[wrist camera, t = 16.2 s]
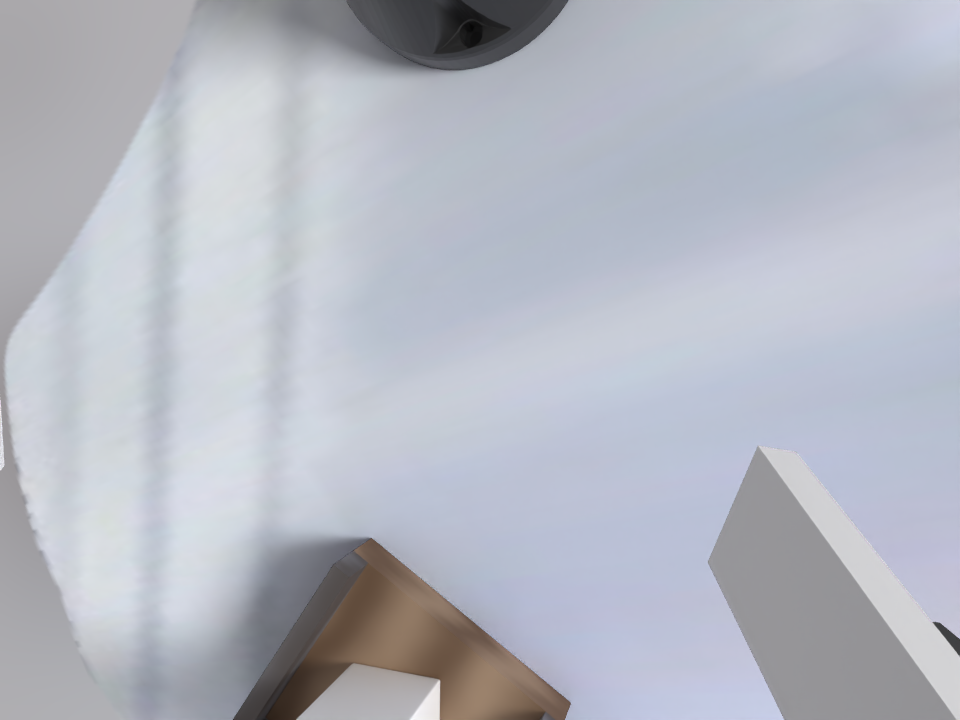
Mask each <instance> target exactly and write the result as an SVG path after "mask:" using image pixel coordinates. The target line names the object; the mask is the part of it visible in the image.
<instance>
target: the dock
mask: <svg viewBox="0 0 960 720" xmlns="http://www.w3.org/2000/svg"><path fill="white" fill-rule="evenodd" d="M353 663H356V664H362V665H367V666H372V667H377V668H383V669H388V670H393V671H398V672H404V673H409V674H414V675H419V676H425V677H430V678H435V679H439V680H440V720H565V718H566V715H567V712H568V710H569V707H570V704H571V703H570V702H569V701H568V700H567V699H566V698H564V697H563V696H562V695H561V694H559V693H558V692H557V691H556V690H555V689H553V688H552V687H551V686H550V685H549V684H547V683H546V682H545V681H544V680H543V679H541V678H540V677H539V676H538V675H537V674H535V673H534V672H533V671H532V670H530V669H529V668H528V667H527V666H526V665H524V664H523V663H522V662H521V661H520V660H518V659H517V658H516V657H515V656H514V655H512V654H511V653H510V652H509V651H507V650H506V649H505V648H504V647H503V646H501V645H500V644H499V643H498V642H497V641H495V640H494V639H493V638H492V637H491V636H489V635H488V634H487V633H486V632H485V631H483V630H482V629H481V628H480V627H478V626H477V625H476V624H475V623H474V622H472V621H471V620H470V619H469V618H468V617H466V616H465V615H464V614H463V613H462V612H460V611H459V610H458V609H457V608H456V607H454V606H453V605H452V604H451V603H449V602H448V601H447V600H446V599H445V598H443V597H442V596H441V595H440V594H439V593H437V592H436V591H435V590H434V589H433V588H431V587H430V586H429V585H428V584H426V583H425V582H424V581H423V580H422V579H420V578H419V577H418V576H417V575H416V574H414V573H413V572H412V571H411V570H410V569H408V568H407V567H406V566H405V565H404V564H402V563H401V562H400V561H399V560H397V559H396V558H395V557H394V556H393V555H391V554H390V553H389V552H388V551H387V550H385V549H384V548H383V547H382V546H381V545H379V544H378V543H377V542H376V541H375V540H373V539H372V538H371V539H369V540H368V541H367V542H365V543H364V544H362V545H361V546H359V547H358V548H357V549H355V550H354V551H352V552H351V553H349V554H348V555H347V556H345V557H344V558H342V559H341V560H339V561H338V562H337V563H335V564H334V565H333V566H332V568H331V569H330V571H329V573H328V574H327V576H326V577H325V579H324V580H323V582H322V583H321V585H320V586H319V588H318V589H317V591H316V593H315V594H314V596H313V597H312V599H311V600H310V602H309V603H308V605H307V606H306V608H305V609H304V611H303V613H302V614H301V616H300V617H299V619H298V620H297V622H296V623H295V625H294V626H293V628H292V629H291V631H290V633H289V634H288V636H287V637H286V639H285V640H284V642H283V643H282V645H281V646H280V648H279V649H278V651H277V653H276V654H275V656H274V657H273V659H272V660H271V662H270V663H269V665H268V666H267V668H266V669H265V671H264V673H263V674H262V676H261V677H260V679H259V680H258V682H257V683H256V685H255V686H254V688H253V689H252V691H251V693H250V694H249V696H248V697H247V699H246V700H245V702H244V703H243V705H242V706H241V708H240V709H239V711H238V713H237V714H236V716H235V717H234V719H233V720H296V719H297V718H298V717H299V716H300V715H301V714H302V713H303V712H304V711H305V710H306V709H307V708H308V707H309V706H310V705H311V704H312V703H313V702H314V701H315V700H316V699H317V698H318V697H319V696H320V695H321V694H322V693H323V692H324V691H325V690H326V689H327V688H328V687H329V686H330V685H331V684H332V683H333V682H334V681H335V680H336V679H337V678H338V677H339V676H340V675H341V674H342V673H343V672H344V671H345V670H346V669H347V668H348V667H349V666H350V665H351V664H353Z"/></svg>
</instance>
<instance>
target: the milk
mask: <svg viewBox="0 0 960 720" xmlns="http://www.w3.org/2000/svg"><path fill="white" fill-rule="evenodd" d="M296 720H440V680H439V679H435V678H430V677H425V676H419V675H414V674H409V673H404V672H398V671H393V670H388V669H383V668H377V667H372V666H367V665H362V664H356V663H353V664H351V665H350V666H349V667H348V668H347V669H346V670H345V671H344V672H343V673H342V674H341V675H340V676H339V677H338V678H337V679H336V680H335V681H334V682H333V683H332V684H331V685H330V686H329V687H328V688H327V689H326V690H325V691H324V692H323V693H322V694H321V695H320V696H319V697H318V698H317V699H316V700H315V701H314V702H313V703H312V704H311V705H310V706H309V707H308V708H307V709H306V710H305V711H304V712H303V713H302V714H301V715H300V716H299V717H298V718H297V719H296Z"/></svg>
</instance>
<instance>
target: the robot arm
mask: <svg viewBox="0 0 960 720" xmlns="http://www.w3.org/2000/svg"><path fill="white" fill-rule="evenodd" d="M346 1H347V3H348V5H349V6H350V8H351V9H352V11H353V12H354V14H355V15H356V16H357V18H358V19H359V20H360V22H361V23H362V24H363V25H364V26H365V27H366V28H367V29H368V30H369V31H370V32H371V33H372V34H373V35H374V36H375V37H376V38H378V39H379V40H380V41H382V42H383V43H384V44H386V45H387V46H388V47H390V48H391V49H393V50H394V51H395V52H397V53H398V54H400V55H402V56H403V57H405V58H407V59H409V60H411V61H413V62H416V63H419V64H421V65H425V66H428V67H433V68H438V69H449V70H458V69H469V68H475V67H480V66H484V65H487V64H490V63H493V62H496V61H499V60H501V59H503V58H505V57H507V56H509V55H511V54H513V53H515V52H517V51H518V50H520V49H521V48H523V47H524V46H526V45H527V44H529V43H530V42H531V41H532V40H534V39H535V38H536V37H537V36H538V35H540V34H541V33H542V32H543V31H544V30H545V29H546V28H547V27H548V26H549V25H550V24H551V23H552V21H553V20H554V19H555V18H556V17H557V16H558V14H559V13H560V12H561V10H562V9H563V8H564V6H565V5H566V3H567V2H568V0H346ZM3 467H4V451H3V435H2V418H1V402H0V470H1V469H2V468H3ZM708 564H709V566H710V568H711V570H712V572H713V574H714V576H715V578H716V580H717V582H718V584H719V586H720V588H721V590H722V592H723V595H724V597H725V599H726V601H727V603H728V605H729V607H730V609H731V611H732V613H733V615H734V617H735V619H736V621H737V623H738V625H739V627H740V629H741V632H742V634H743V636H744V638H745V640H746V642H747V644H748V646H749V648H750V650H751V652H752V654H753V656H754V658H755V660H756V662H757V664H758V666H759V669H760V671H761V673H762V675H763V677H764V679H765V681H766V683H767V685H768V687H769V689H770V691H771V693H772V695H773V697H774V699H775V701H776V703H777V706H778V708H779V710H780V712H781V714H782V716H783V718H784V720H960V639H959V638H958V637H956V636H955V635H954V634H953V633H951V632H950V631H949V630H948V629H947V628H945V627H944V626H943V625H942V624H941V623H937V622H932V621H931V620H930V619H929V617H928V616H927V615H926V614H925V612H924V611H923V610H922V609H921V607H920V606H919V605H918V604H917V602H916V601H915V600H914V599H913V597H912V596H911V595H910V594H909V592H908V591H907V590H906V589H905V587H904V586H903V585H902V584H901V582H900V581H899V580H898V579H897V577H896V576H895V575H894V574H893V572H892V571H891V570H890V569H889V567H888V566H887V565H886V564H885V562H884V561H883V560H882V559H881V557H880V556H879V555H878V554H877V552H876V551H875V550H874V549H873V547H872V546H871V545H870V544H869V542H868V541H867V540H866V539H865V537H864V536H863V535H862V534H861V532H860V531H859V530H858V529H857V527H856V526H855V525H854V524H853V522H852V521H851V520H850V519H849V517H848V516H847V515H846V514H845V512H844V511H843V510H842V509H841V507H840V506H839V505H838V504H837V502H836V501H835V500H834V499H833V497H832V496H831V495H830V494H829V492H828V491H827V490H826V489H825V487H824V486H823V485H822V484H821V482H820V481H819V480H818V479H817V477H816V476H815V475H814V474H813V472H812V471H811V470H810V469H809V467H808V466H807V465H806V464H805V462H804V461H803V460H802V459H801V457H800V456H799V455H798V453H797V452H794V451H788V450H781V449H775V448H769V447H763V446H758V447H757V449H756V451H755V454H754V456H753V458H752V461H751V463H750V465H749V468H748V470H747V472H746V475H745V477H744V479H743V482H742V484H741V486H740V488H739V491H738V493H737V495H736V498H735V500H734V502H733V505H732V507H731V509H730V512H729V514H728V516H727V519H726V521H725V523H724V526H723V528H722V530H721V532H720V535H719V537H718V539H717V542H716V544H715V546H714V549H713V551H712V553H711V556H710V558H709V560H708Z"/></svg>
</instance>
